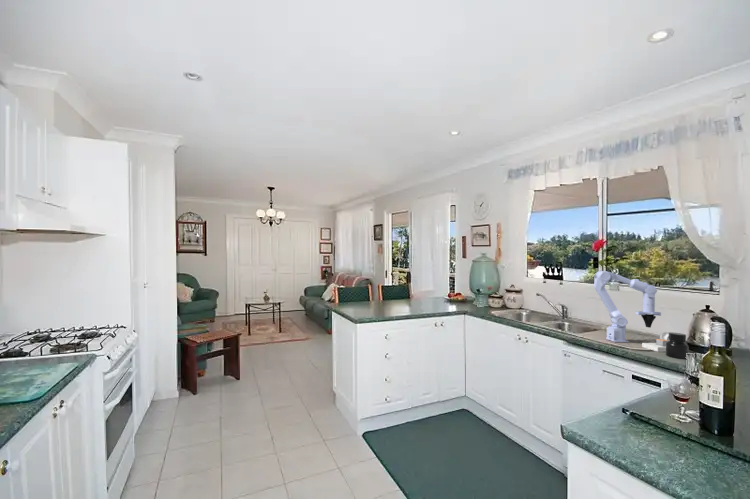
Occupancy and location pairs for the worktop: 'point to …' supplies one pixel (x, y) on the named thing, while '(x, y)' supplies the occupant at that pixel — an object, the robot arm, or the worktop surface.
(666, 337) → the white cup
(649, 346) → the socket plate
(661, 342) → the plug
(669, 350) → the ink bottle
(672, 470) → the worktop surface
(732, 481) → the worktop surface
